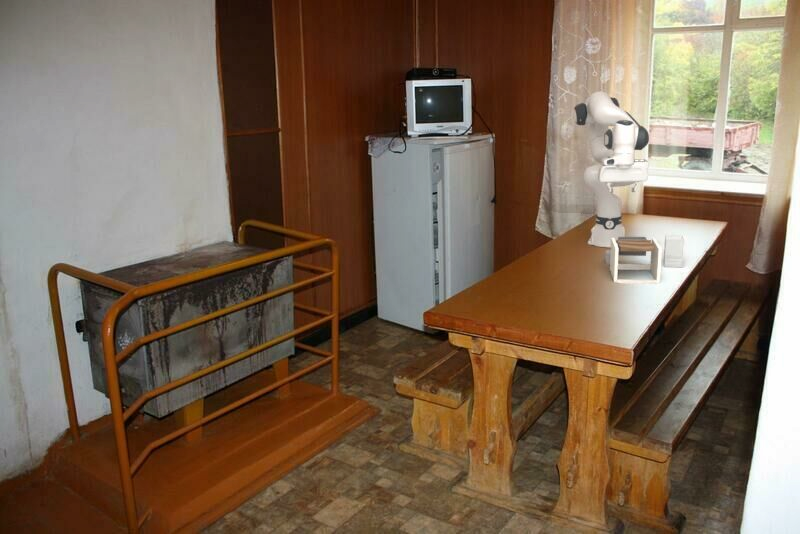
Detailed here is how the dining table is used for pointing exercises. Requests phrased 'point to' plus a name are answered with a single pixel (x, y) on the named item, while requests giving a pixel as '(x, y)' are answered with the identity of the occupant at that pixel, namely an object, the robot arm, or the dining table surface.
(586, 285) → the dining table surface
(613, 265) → the frame
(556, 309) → the dining table surface
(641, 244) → the trapdoor
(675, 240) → the supplement box
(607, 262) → the light grey cube
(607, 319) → the dining table surface
